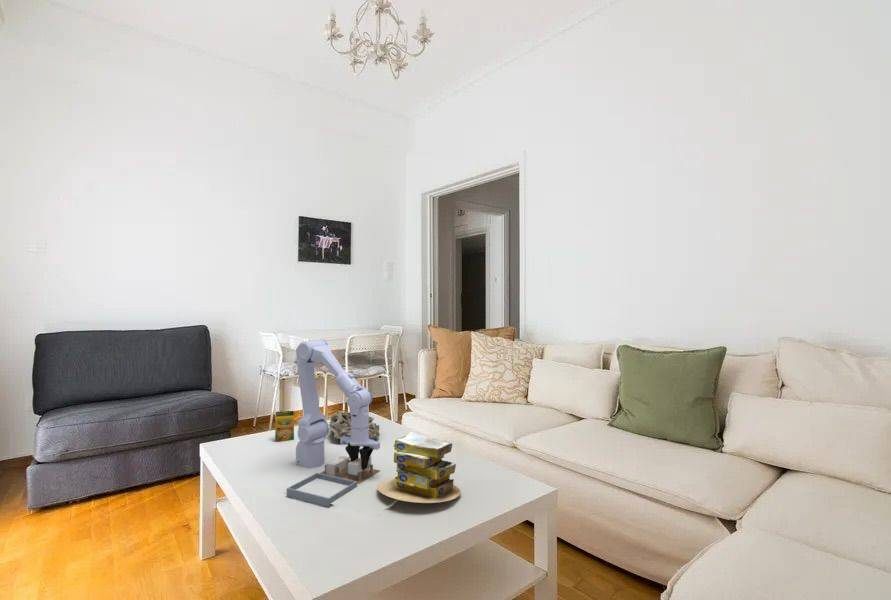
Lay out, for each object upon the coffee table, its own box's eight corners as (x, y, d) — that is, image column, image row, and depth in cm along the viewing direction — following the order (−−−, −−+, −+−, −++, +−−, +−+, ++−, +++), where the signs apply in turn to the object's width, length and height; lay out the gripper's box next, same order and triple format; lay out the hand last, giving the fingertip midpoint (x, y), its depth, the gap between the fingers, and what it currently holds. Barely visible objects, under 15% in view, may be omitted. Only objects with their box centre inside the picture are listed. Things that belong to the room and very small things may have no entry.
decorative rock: (324, 445, 176) (324, 419, 177) (329, 434, 202) (330, 411, 203) (380, 442, 180) (380, 417, 181) (378, 432, 205) (378, 409, 207)
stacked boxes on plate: (415, 471, 153) (415, 422, 152) (476, 491, 137) (476, 436, 137) (359, 498, 133) (359, 441, 133) (423, 524, 118) (423, 460, 118)
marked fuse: (348, 473, 144) (347, 463, 144) (363, 465, 151) (362, 455, 151) (356, 475, 143) (356, 464, 143) (371, 466, 150) (371, 456, 150)
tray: (286, 496, 134) (286, 488, 134) (316, 480, 145) (316, 472, 145) (328, 507, 127) (328, 498, 127) (357, 489, 138) (357, 481, 138)
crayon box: (275, 442, 183) (274, 413, 183) (275, 439, 186) (274, 411, 186) (294, 439, 186) (294, 411, 186) (293, 437, 188) (293, 410, 188)
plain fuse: (326, 473, 148) (326, 463, 148) (341, 465, 155) (341, 455, 155) (334, 475, 147) (334, 465, 147) (349, 467, 154) (349, 457, 154)
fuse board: (316, 477, 147) (316, 466, 147) (340, 465, 158) (340, 455, 158) (358, 487, 140) (358, 475, 140) (380, 473, 151) (380, 462, 151)
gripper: (334, 426, 146) (334, 468, 147) (370, 433, 140) (371, 476, 140) (347, 421, 153) (347, 461, 153) (383, 426, 146) (383, 468, 147)
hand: (359, 467), depth 147 cm, fingers closed on marked fuse, 3 cm apart
